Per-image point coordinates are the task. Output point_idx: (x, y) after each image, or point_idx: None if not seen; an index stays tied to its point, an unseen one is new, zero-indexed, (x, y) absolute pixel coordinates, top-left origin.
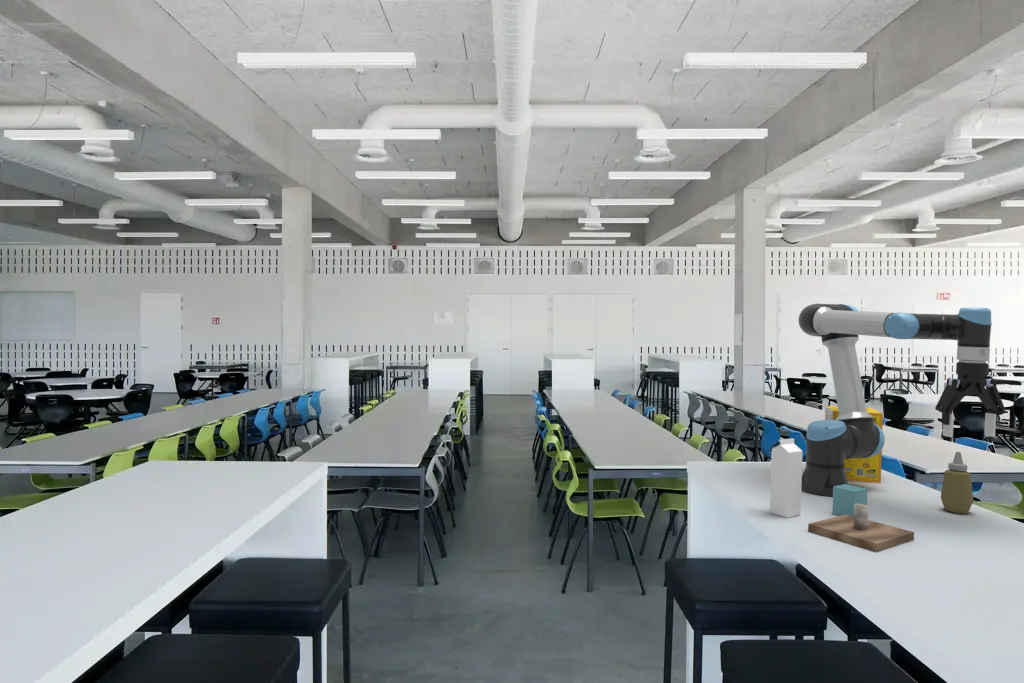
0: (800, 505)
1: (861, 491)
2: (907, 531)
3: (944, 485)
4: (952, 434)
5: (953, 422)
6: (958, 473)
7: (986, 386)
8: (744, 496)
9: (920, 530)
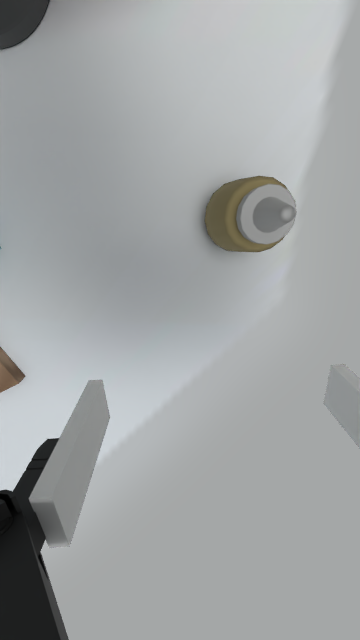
0: None
1: None
2: (8, 380)
3: (214, 209)
4: (105, 426)
5: (88, 484)
6: (238, 242)
7: None
8: None
9: (64, 334)
